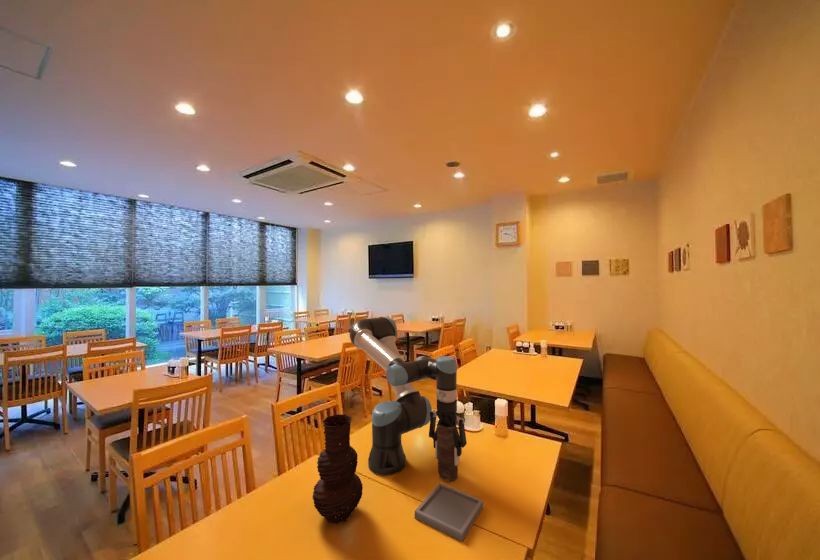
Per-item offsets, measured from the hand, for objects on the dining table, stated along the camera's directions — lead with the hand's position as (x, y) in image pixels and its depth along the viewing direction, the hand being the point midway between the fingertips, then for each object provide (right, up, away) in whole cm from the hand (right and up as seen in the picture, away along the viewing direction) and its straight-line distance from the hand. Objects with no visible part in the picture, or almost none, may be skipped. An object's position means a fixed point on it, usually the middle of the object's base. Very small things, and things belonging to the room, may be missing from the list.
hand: (447, 460), depth 118 cm
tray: (-1, -6, -18) cm, 19 cm away
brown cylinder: (0, -6, 0) cm, 6 cm away
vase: (-37, -7, -19) cm, 42 cm away
